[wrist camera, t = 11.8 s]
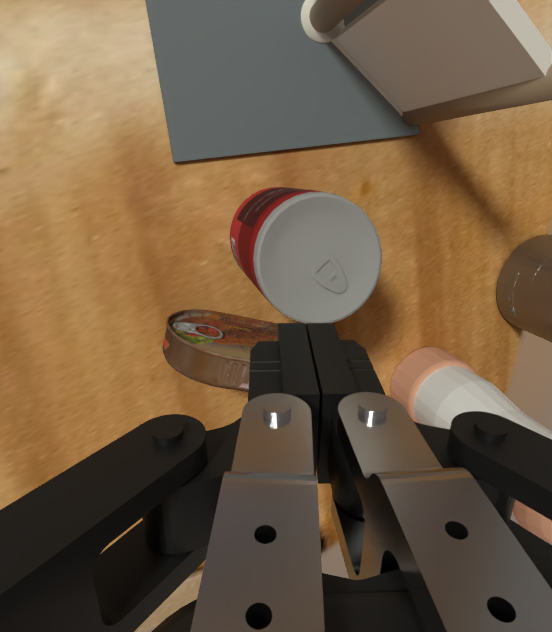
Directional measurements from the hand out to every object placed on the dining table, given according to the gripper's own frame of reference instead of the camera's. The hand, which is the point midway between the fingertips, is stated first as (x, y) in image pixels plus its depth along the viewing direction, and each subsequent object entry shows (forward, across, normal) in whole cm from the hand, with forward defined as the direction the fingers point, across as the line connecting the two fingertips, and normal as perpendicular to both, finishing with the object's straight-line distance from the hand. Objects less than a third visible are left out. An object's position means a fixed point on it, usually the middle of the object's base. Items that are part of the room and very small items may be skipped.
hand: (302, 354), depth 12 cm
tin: (+24, +2, +11) cm, 26 cm away
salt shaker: (+27, -14, +17) cm, 35 cm away
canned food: (+25, 0, +3) cm, 25 cm away
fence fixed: (+28, -7, -9) cm, 30 cm away
